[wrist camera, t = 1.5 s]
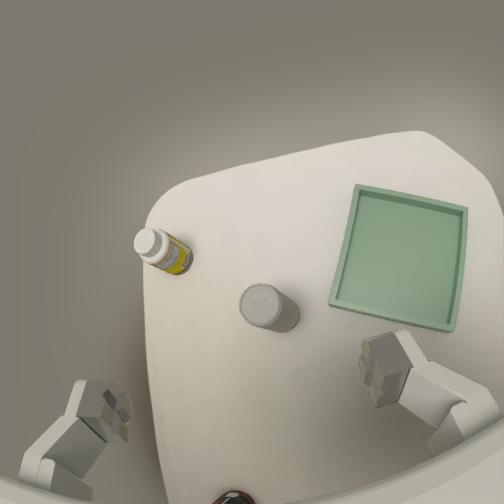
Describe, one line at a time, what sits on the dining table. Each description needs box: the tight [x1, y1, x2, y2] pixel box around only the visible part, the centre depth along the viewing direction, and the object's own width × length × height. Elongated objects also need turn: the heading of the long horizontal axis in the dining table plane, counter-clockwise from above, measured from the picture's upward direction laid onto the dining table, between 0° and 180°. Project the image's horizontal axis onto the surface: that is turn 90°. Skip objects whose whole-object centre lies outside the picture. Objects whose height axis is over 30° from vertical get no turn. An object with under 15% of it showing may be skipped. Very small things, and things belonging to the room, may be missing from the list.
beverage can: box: [239, 283, 299, 332], centre depth 38 cm, size 5×5×12 cm
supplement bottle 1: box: [134, 228, 192, 275], centre depth 47 cm, size 6×6×10 cm
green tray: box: [328, 184, 468, 333], centre depth 39 cm, size 18×18×3 cm
